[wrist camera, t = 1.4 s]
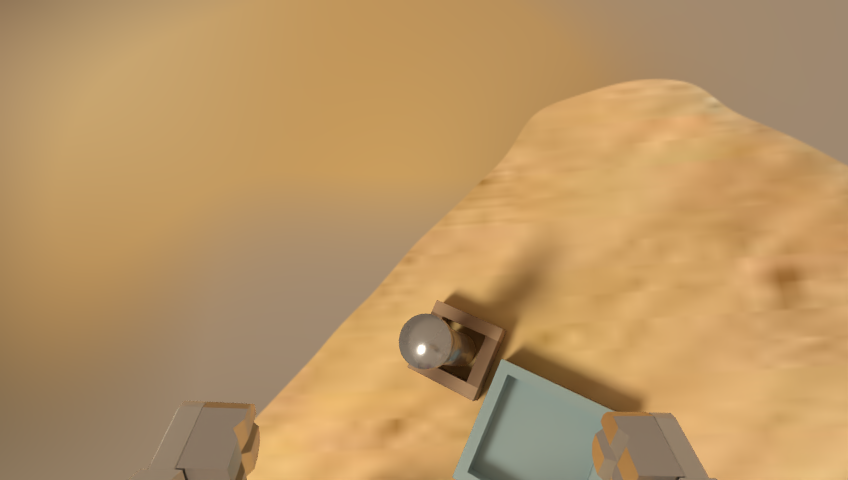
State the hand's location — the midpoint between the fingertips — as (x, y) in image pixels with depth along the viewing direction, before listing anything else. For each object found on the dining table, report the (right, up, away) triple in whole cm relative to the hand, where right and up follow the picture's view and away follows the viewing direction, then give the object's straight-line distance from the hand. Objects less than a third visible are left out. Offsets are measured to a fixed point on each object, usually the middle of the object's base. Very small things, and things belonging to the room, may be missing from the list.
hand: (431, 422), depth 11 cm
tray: (+10, -14, +31) cm, 36 cm away
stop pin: (+3, -6, +36) cm, 37 cm away
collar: (+3, -6, +36) cm, 37 cm away
